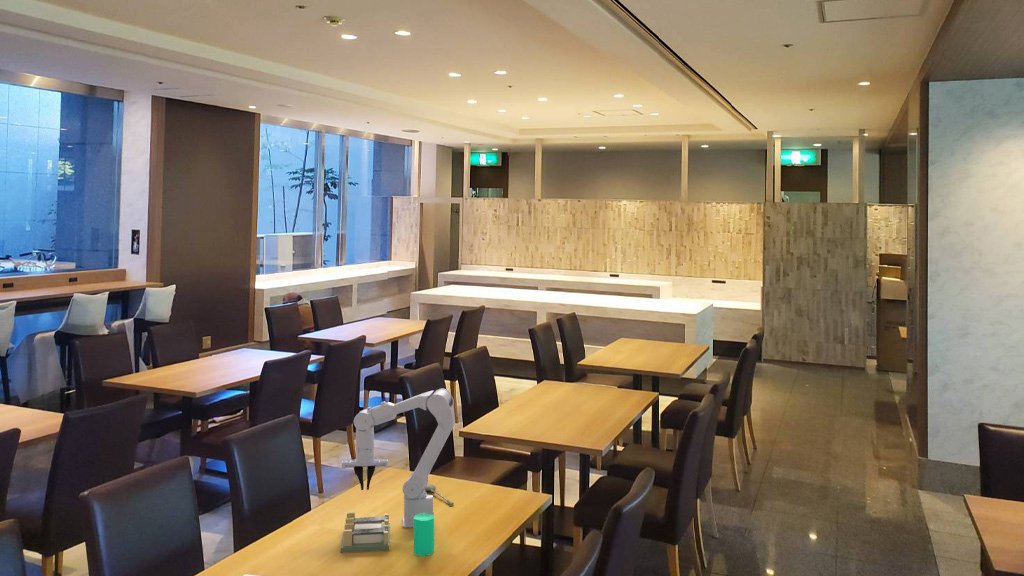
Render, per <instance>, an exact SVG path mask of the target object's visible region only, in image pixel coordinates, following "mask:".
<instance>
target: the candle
mask: <svg viewBox="0 0 1024 576" xmlns="http://www.w3.org/2000/svg"><path fill="white" fill-rule="evenodd" d="M433 552H434V553H435V514H434V515H430V514H427V513H422V514H418V515H416V516H415V517H414V527H413V554H414V555H416V556H418V555H420V556H419V557H426V556H425V555H428V556H430V555H429V554H431V555H432V553H433ZM434 553H433V554H434Z"/></svg>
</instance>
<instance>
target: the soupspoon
mask: <svg viewBox="0 0 1024 576" xmlns="http://www.w3.org/2000/svg"><path fill="white" fill-rule="evenodd" d="M436 488H437V486H435V485H434V484H430V483H427V486H426V487H425V491H426V492H427V491H428V492H432V493H434V494H436V495H437V496H439V497H440V498H443V500H445V501H446V503H447V504H448V506H449V507H451V506H452V505H453V506H455V505H454V504H455V503H454V502H452V501H450V500H449V499H448V498H446V497H445V496H443V495H442V494H441V493H439V492H438V491H436Z"/></svg>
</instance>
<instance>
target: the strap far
mask: <svg viewBox="0 0 1024 576" xmlns="http://www.w3.org/2000/svg"><path fill="white" fill-rule="evenodd" d="M385 519H388V516H385V515H383V516H381V515H380V516H367V517H355V518H354V524H357V523H373V522H382V523H384V520H385Z"/></svg>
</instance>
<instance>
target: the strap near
mask: <svg viewBox="0 0 1024 576" xmlns="http://www.w3.org/2000/svg"><path fill="white" fill-rule="evenodd" d="M387 529H388V528H387V527H384V528H370V529H355V530H352V536H354V535H369V534H383V533H384V531H387Z"/></svg>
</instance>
